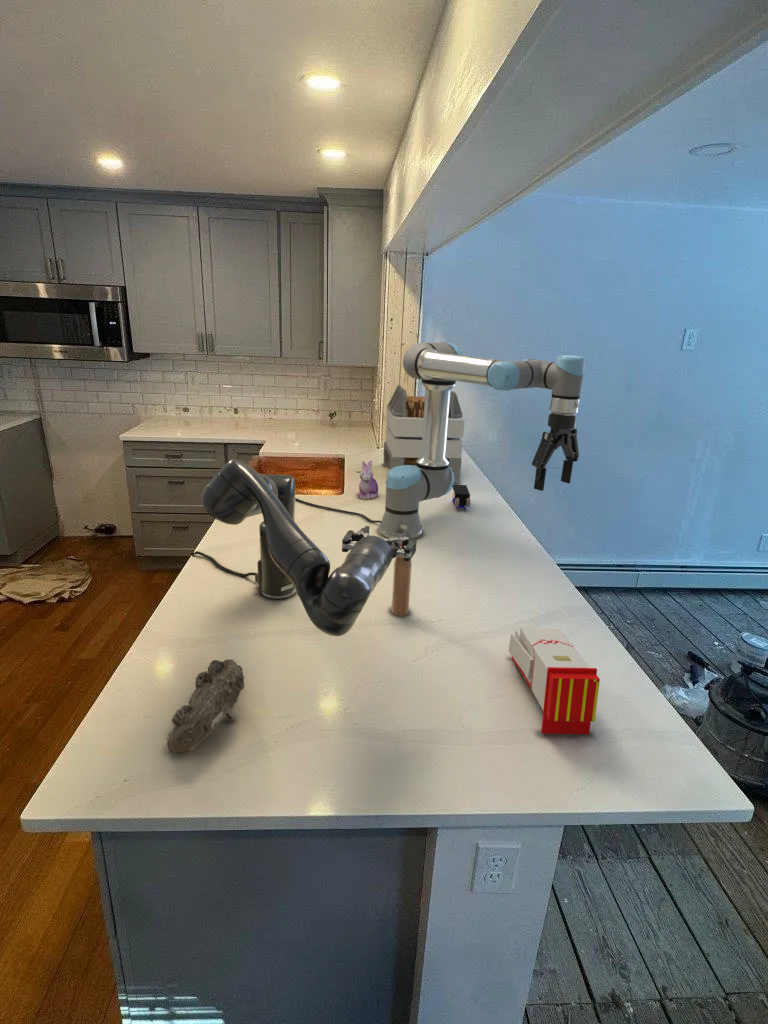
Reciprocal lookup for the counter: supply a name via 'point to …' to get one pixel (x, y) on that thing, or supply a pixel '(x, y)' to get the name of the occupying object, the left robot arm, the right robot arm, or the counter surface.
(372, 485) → the figurine
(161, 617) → the counter surface
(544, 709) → the toy
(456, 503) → the figurine character
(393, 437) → the grey tiered storage bin
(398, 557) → the bottle
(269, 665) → the counter surface
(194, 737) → the fossil
